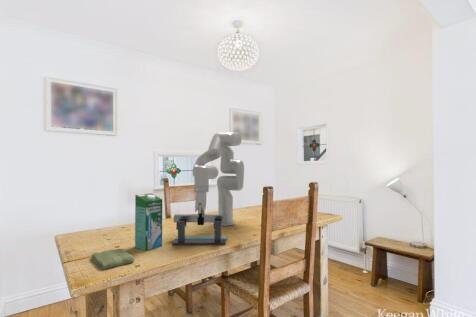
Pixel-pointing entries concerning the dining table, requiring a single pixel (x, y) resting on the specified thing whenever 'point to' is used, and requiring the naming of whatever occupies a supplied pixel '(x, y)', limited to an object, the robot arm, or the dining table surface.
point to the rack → (181, 240)
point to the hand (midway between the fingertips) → (201, 223)
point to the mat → (202, 238)
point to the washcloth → (112, 258)
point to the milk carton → (148, 221)
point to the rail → (195, 218)
